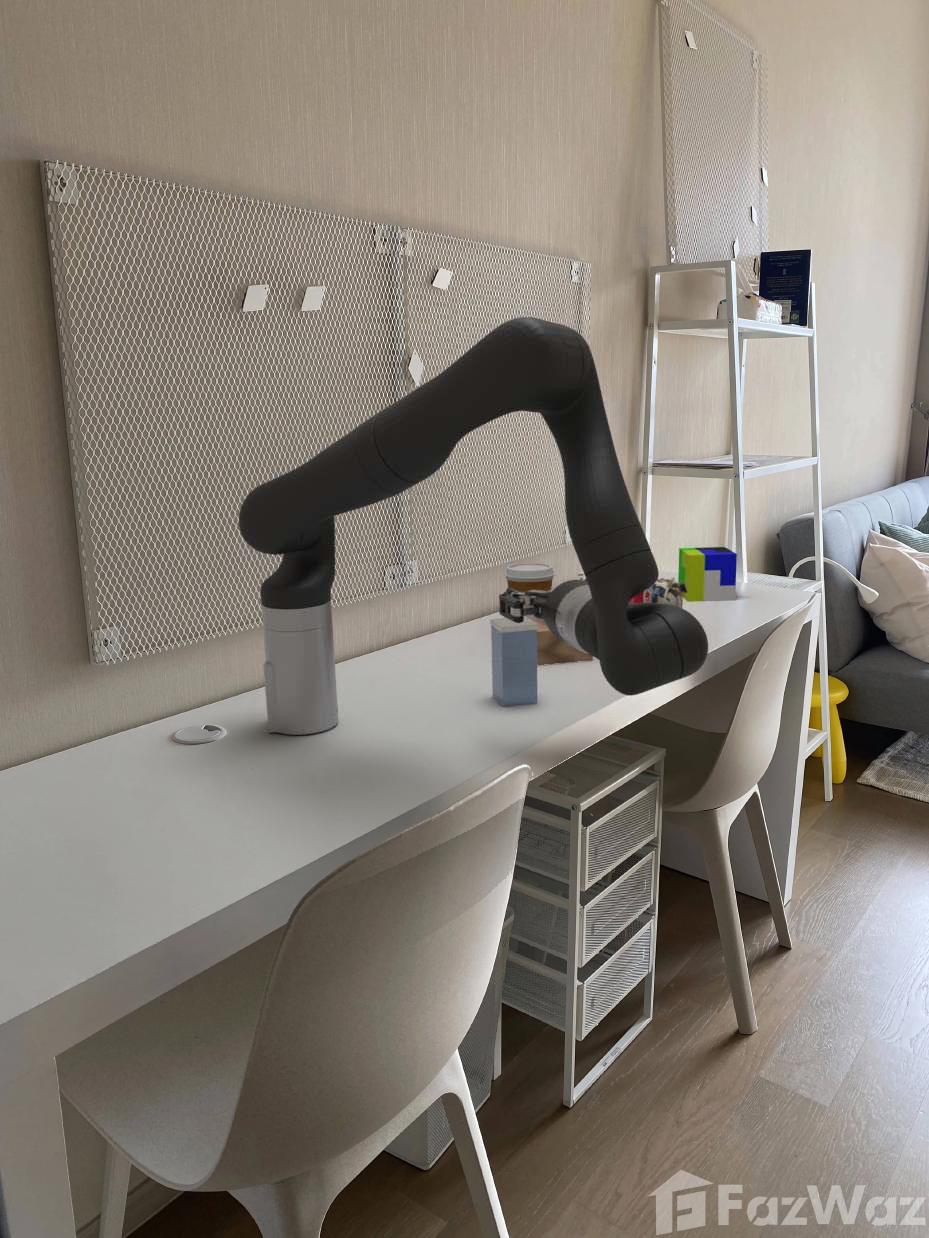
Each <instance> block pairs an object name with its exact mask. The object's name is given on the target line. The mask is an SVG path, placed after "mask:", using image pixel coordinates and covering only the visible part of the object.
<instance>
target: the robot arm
mask: <svg viewBox="0 0 929 1238" xmlns="http://www.w3.org/2000/svg"><path fill="white" fill-rule="evenodd" d="M516 412H528V413H535V414H536V413H537V414H540V415H541V417H542V418H543V420H544V422H545V423H546V425H547V427H548V429H549V431H550V432H551V435H552V436H553V438H554V441H555V443H556V445H557V448H558V451H559V452H558V453H559V455H560V458H561V463H562V468H563V477H564V478H563V479H564V509H565V510H564V511H565V519H566V524H567V530H568V533H569V536H570V540H571V543H572V546H573V548H574V551H575V554H576V556H577V558H578V561H579V564H580V566H581V570H583V572H584V575H585V576H586V580H587V582H586V581H583V580H579V579H570V580H566V581H563V582H562V583H560V584H558V585H557V586H556V587H554V589H551V590H549V591H541V590H530V591H527V592H526V593H522V592H519V591H517V590H515V589H514V588H508V587H507V588H506V591H503V593H501V594H499V595H498V599H499V615H500V616H502V617H503V618H504V617H506V618H508V619H509V620H511V621H513V622H517V623H521V622H524V616H526V617H527V618H530V619H538V620H544V621H545V623H546V625H547V626H548V628H549V630H550V631H551V632H552V633H553V634H554V635H555V636H556V637H558V638H559V639H561V640H563V641H564V642H566V643H568V644H569V645H571V646H573V647H574V648H576V649H577V650H579V651H582V652H584V653H587V654H590V655H592V656H593V658H595V659H597V660H598V661H599V665H600V669H601V672H602V674H603V677H604V679H605V680H606V681H607V683H608V684H609V685H610V687H612V688H613V689H614V690H615V691H617V692H618V693H619V694H622V695H625V696H637V695H639V694H643V693H645V692H648V691H652V690H653V689H656V688H660V687H663V686H665V685H668V684H670V683H673V682H676V681H679V680H682V679H685V678H688V677H689V676H691V675H694V674H695V673H697V672H698V671H699V670H700V669H701V668H702V667H703V666H704V665H705V662H706V660H707V659H708V658H707V657H708V654H709V641H708V635H707V633H706V630H705V629H704V627H703V626H702V624H701V623H700V621H699V620H698V619H697V618H696V617H695V615H693V614H692V613H691V612H689V611H687V610H686V609H684V608H683V607H682V608H680V607H678V606H674V605H670V604H661V603H629V600H631V599H632V598H633V597H635V596H636V595H638V594H640V593H642V592H643V591H645V590H647V589H648V588H650V587H651V586H652V585H654V584H655V582H656V581H657V579H658V578H659V568H658V564H657V562H656V558H655V556H654V554H653V551H652V550H651V546H650V543H649V541H648V539H647V537H646V533H645V532H644V529H643V527H642V524H641V521H640V519H639V516H638V515H637V512H636V510H635V507H634V505H633V501H632V499H631V496H630V493H629V490H628V488H627V485H626V482H625V479H624V476H623V472H622V469H621V466H620V463H619V459H618V456H617V452H616V449H615V444H614V441H613V440H614V439H613V437H612V433H611V429H610V424H609V420H608V417H607V411H606V407H605V402H604V400H603V395H602V390H601V385H600V381H599V376H598V371H597V368H596V363H595V359H594V356H593V354H592V350H591V348H590V345H589V344H588V342H587V341H586V339H585V338H584V336H583V335H582V334H580V333H579V332H578V331H577V330H576V329H573V328H571V327H570V326H567V325H565V324H561V323H557V322H553V321H548V320H546V319H545V320H544V319H542V318H539V317H538V318H537V317H533V316H523V317H522V316H521V317H520V316H519V317H515V318H513V319H509V320H507V321H504V322H503V323H500V325H498V326H497V327H495V328H494V329H492V330H491V331H489V333H487V334H486V335H485V336H484V337H482V338H481V339H480V340H479V341H477V343H475V344H474V345H473V346H472V347H471V348H469V349H468V350H467V351H466V352H465V353H464V354H462V355H461V356H460V357H458V358H457V360H455V361H454V362H453V363H452V364H451V365H449V366H448V367H446V368H445V369H444V370H442V372H440V373H439V374H437V375H436V376H434V377H433V378H431V379H429V380H428V381H427V382H425V383H423V384H421V385H420V386H418V387H416V388H415V389H414V390H412V391H411V392H409V393H407V395H404V396H403V397H402V398H400V399H399V400H397V401H395V402H393V403H392V404H390V405H388V406H386V407H385V408H384V409H382V410H380V411H378V412H377V413H375V414H374V415H373V416H371V417H369V418H368V419H366V420H365V421H363V422H362V423H361V424H359V425H357V426H356V427H355V428H354V429H352V430H350V432H348V433H347V434H345V435H344V436H342V437H340V438H339V439H338V440H336V441H334V442H333V443H332V444H330V445H328V446H327V447H326V448H324V449H323V450H321V451H320V452H319V453H317V454H316V455H315V456H312V458H310V459H309V460H308V461H306V462H305V463H303V464H301V465H299V466H298V467H296V468H295V469H294V468H293V470H290V471H288V472H286V473H284V474H282V475H279V476H278V477H275V478H273V479H270V480H269V481H266V482H264V483H262V484H260V485H257V486H256V487H255V488H253V489H252V490H251V491H250V492H249V493H248V494H246V495H247V496H246V497H245V498H244V499H243V502H242V504H241V506H240V510H239V514H238V515H239V516H238V527H239V532H240V535H241V536H242V538H243V540H244V541H245V542H246V543H247V545H248V546H249V547H250V548H251V549H253V550H255V551H256V552H260V553H262V554H264V555H265V554H266V555H274V556H275V555H277V556H278V555H282V560H281V563H280V564H279V566H278V567H277V569H276V570H275V571H274V572H273V573H272V574H271V575H270V576H268V577H267V578H266V579H264V580H263V582H262V583H261V585H260V589H259V590H260V605H261V616H262V617H261V618H262V629H263V641H264V657H265V660H264V663H263V678H264V691H265V703H266V716H267V726H268V733H279V734H284V735H294V736H296V735H297V736H299V735H311V734H318V733H322V732H325V731H327V730H330V729H332V728H334V727H335V726H336V725H338V723H339V705H338V691H337V676H336V672H337V671H336V659H335V646H334V645H335V643H334V626H333V625H334V624H333V611H332V610H333V609H332V595H331V594H332V591H331V590H332V586H333V583H334V580H335V576H336V523H335V516H338V515H341V514H345V513H348V512H352V511H356V510H358V509H362V508H365V507H368V506H371V505H374V504H376V503H377V504H378V503H380V502H382V501H385V500H388V499H390V498H392V497H395V496H397V495H400V494H401V493H404V492H405V491H408V489H411V488H412V487H415V486H416V485H418V484H419V483H421V482H423V481H424V480H426V479H428V478H430V477H431V476H432V475H434V474H435V473H436V472H437V471H438V470H440V468H441V467H442V466H443V465H444V464H445V463H446V462H447V460H448V458H450V457H451V456H450V455H451V454H452V452H453V451H454V449H455V447H457V444H458V443H459V442H460V441H461V440H462V439H463V438H464V437H466V436H467V435H468V434H470V433H471V432H473V431H474V430H476V429H478V428H480V427H482V426H485V425H486V424H488V423H490V422H492V421H493V420H494V421H495V420H496V419H499V418H500V417H503V416H506V415H509V414H512V413H516ZM536 596H539V597H540V598H539V599H537V600H536ZM521 598H524V599H525V605H524V601H523V600H522V599H521Z"/></svg>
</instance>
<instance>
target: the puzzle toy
mask: <svg viewBox="0 0 929 1238" xmlns="http://www.w3.org/2000/svg"><path fill="white" fill-rule="evenodd" d="M737 560H738V554H737V553H735V552H734V551H733V550H731V549H729V548H727V547H726V546H717V547H716V546H714V547H713V546H712V547H711V546H709V547H708V546H707V547H680V548H678V579H677V580H678V582H677V583H678V584H679V585H680V584H682V583H684V584H685V586H686V589H687V593H684V592H682V597H683V599H684V600H686V601H687V602H689V603H690V602H692V603H693V602H721V601H722V602H723V601H724V602H725V601H728V602H729V601H732V602H733V601H735V602H736V593H737V592H736V586H737V562H738V561H737Z"/></svg>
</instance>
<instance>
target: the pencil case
mask: <svg viewBox="0 0 929 1238" xmlns="http://www.w3.org/2000/svg"><path fill="white" fill-rule="evenodd" d="M577 576H578V577H579V578H578V580H583V581H586V582H587V580H586V576H585V575H584V572H583V569H581V570H580V571H579V572H578V574H577ZM682 592H684V593H687V589H686V586H685V584H684V583H682V584H680V585H679V584H678V582H677V581H676V580H675V576H672V577H671V578H664V577H658V579H657V581H656V582H655V584H654V585H652V586H651V603H661V604H670V605H674V606H678V607H680V608H682V609H683V605H684V603H683V602H684V601H683V600H684V597H683V596H682Z"/></svg>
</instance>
